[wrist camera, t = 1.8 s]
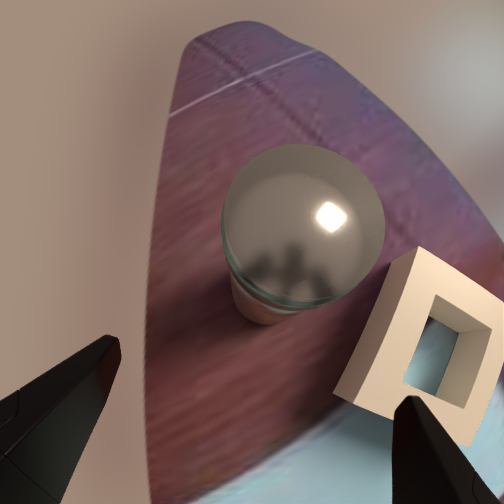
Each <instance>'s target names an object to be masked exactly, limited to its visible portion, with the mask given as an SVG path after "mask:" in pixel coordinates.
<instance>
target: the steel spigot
mask: <svg viewBox="0 0 504 504" xmlns="http://www.w3.org/2000/svg"><path fill="white" fill-rule="evenodd" d="M221 232H222V240H223V247H224V253H225V257H226V261H227V264H228V266H229V270H230V278H231V286H232V294H233V299H234V302H235V305H236V307H237V309H238V310H239V312H240V313H241V314H242V315H243V316H244V317H245V318H247V319H248V320H250V321H252V322H254V323H257V324H261V325H273V324H277V323H280V322H282V321H284V320H286V319H289V318H291V317H293V316H295V315H297V314H299V313H301V312H303V311H306V310H310V309H314V308H318V307H320V306H323V305H325V304H327V303H330V302H332V301H334V300H336V299H338V298H340V297H342V296H344V295H345V294H347V293H349V292H350V291H351V290H353V289H354V288H355V287H356V286H357V285H358V284H359V283H360V282H361V281H362V280H363V279H364V277H365V276H366V275H367V274H368V273H369V272H370V271H371V269H372V268H373V266H374V265H375V263H376V262H377V260H378V257H379V255H380V253H381V250H382V247H383V243H384V237H385V218H384V212H383V208H382V204H381V202H380V199H379V196H378V194H377V192H376V190H375V188H374V187H373V185H372V184H371V182H370V181H369V179H368V178H367V177H366V176H365V175H364V173H363V172H362V171H361V170H360V169H359V168H358V167H356V166H355V165H354V164H353V163H352V162H350V161H349V160H348V159H346V158H344V157H343V156H341V155H339V154H337V153H335V152H333V151H331V150H328V149H325V148H322V147H318V146H313V145H306V144H290V145H283V146H278V147H275V148H271V149H269V150H266V151H264V152H262V153H260V154H258V155H257V156H255V157H254V158H252V159H251V160H250V161H248V162H247V163H246V164H245V165H244V166H243V167H242V168H241V169H240V170H239V172H238V173H237V174H236V176H235V177H234V179H233V181H232V182H231V184H230V186H229V189H228V192H227V194H226V199H225V203H224V206H223V210H222V217H221Z"/></svg>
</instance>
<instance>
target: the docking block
mask: <svg viewBox="0 0 504 504" xmlns="http://www.w3.org/2000/svg"><path fill="white" fill-rule="evenodd" d="M428 316H430V317H432V318H433V319H435V320H437V321H439V322H440V323H442V324H444V325H445V326H447V327H449V328H451V329H452V330H454V331H456V332H458V333H459V335H458V338H457V341H456V344H455V347H454V350H453V352H452V355H451V358H450V360H449V363H448V366H447V368H446V371H445V373H444V376H443V378H442V381H441V383H440V385H439V388H438V390H437V392H436V395H435V397H434V396H432V395H430V394H428V393H426V392H423V391H421V390H419V389H417V388H414V387H412V386H410V385H408V384H406V383H404V382H402V379H403V377H404V375H405V373H406V370H407V368H408V366H409V364H410V361H411V359H412V356H413V354H414V352H415V349H416V347H417V344H418V342H419V339H420V337H421V334H422V331H423V329H424V326H425V323H426V321H427V318H428ZM503 362H504V303H503V302H502V301H501V300H499V299H498V298H497V297H495V296H494V295H492V294H491V293H489V292H488V291H487V290H485V289H484V288H482V287H481V286H479V285H478V284H477V283H475V282H474V281H472V280H471V279H469V278H468V277H466V276H465V275H463V274H462V273H460V272H459V271H457V270H456V269H454V268H453V267H451V266H450V265H448V264H447V263H445V262H444V261H442V260H440V259H439V258H437V257H436V256H434V255H433V254H431V253H429V252H428V251H426V250H425V249H423V248H421V247H420V246H418V247H416V248H414V249H413V250H411V251H409V252H408V253H406V254H404V255H403V256H401V257H399V258H397V259H396V260H394V261H392V262H391V265H390V268H389V270H388V273H387V275H386V278H385V281H384V283H383V286H382V288H381V291H380V293H379V295H378V298H377V300H376V303H375V305H374V307H373V310H372V312H371V314H370V317H369V319H368V321H367V323H366V326H365V328H364V330H363V332H362V335H361V337H360V339H359V341H358V343H357V345H356V347H355V350H354V352H353V354H352V356H351V358H350V360H349V362H348V364H347V366H346V368H345V370H344V372H343V374H342V376H341V378H340V380H339V382H338V384H337V386H336V388H335V389H334V391H333V394H335V395H337V396H339V397H341V398H343V399H345V400H347V401H349V402H351V403H353V404H355V405H357V406H360V407H362V408H364V409H367V410H369V411H372V412H374V413H376V414H379V415H381V416H384V417H386V418H389V419H391V420H393V419H394V412H395V410H396V408H397V407H398V406H399V404H400V403H401V402H402V401H403V400H404V398H405V397H406V396H408V395H416V396H419V397H420V398H421V399H422V400H423V401H424V403H425V404H426V405H427V406H428V408H429V409H430V410H431V412H432V413H433V414H434V416H435V417H436V418H437V419H438V421H439V422H440V423H441V425H442V426H443V427H444V429H445V430H446V431H447V433H448V434H449V435H450V437H451V438H452V439H453V441H454V442H455V443H457V444H460V445H463V446H467V447H470V445H471V443H472V441H473V439H474V437H475V434H476V432H477V430H478V428H479V426H480V423H481V421H482V419H483V416H484V414H485V412H486V409H487V407H488V404H489V402H490V399H491V396H492V394H493V391H494V388H495V386H496V383H497V380H498V377H499V374H500V371H501V368H502V365H503Z"/></svg>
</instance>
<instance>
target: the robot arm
mask: <svg viewBox="0 0 504 504" xmlns="http://www.w3.org/2000/svg"><path fill="white" fill-rule="evenodd" d="M120 362H121V350H120V342H119V339H118V338H117V337H113V336H111V335H104V336H102V337H101V338H99V339H97V340H96V341H94V342H93V343H91V344H90V345H88V346H86V347H85V348H83V349H82V350H80V351H78V352H77V353H75V354H74V355H72V356H70V357H69V358H67V359H66V360H64V361H62V362H61V363H59V364H58V365H56V366H55V367H53V368H51V369H50V370H49V371H47V372H45V373H44V374H42V375H40V376H39V377H37V378H36V379H34V380H33V381H31V382H30V383H28V384H26V385H25V386H23V387H22V388H20V390H17V391H15V392H14V393H12V394H10V395H9V396H7V397H5V398H4V399H2V400H1V401H0V504H60V503H61V500H62V498H63V495H64V493H65V491H66V488H67V486H68V484H69V482H70V479H71V477H72V475H73V472H74V470H75V468H76V466H77V463H78V461H79V459H80V457H81V455H82V452H83V450H84V448H85V446H86V444H87V442H88V439H89V437H90V435H91V433H92V431H93V429H94V427H95V425H96V423H97V420H98V418H99V416H100V414H101V412H102V410H103V408H104V406H105V404H106V401H107V398H108V396H109V393H110V390H111V387H112V384H113V382H114V379H115V376H116V373H117V370H118V368H119V365H120ZM392 504H502V503H501V502H500V501H499V500H498V499H497V498H496V496H495V495H494V494H493V493H492V492H491V490H490V489H489V488H488V487H487V485H486V484H485V483H484V481H483V480H482V479H481V477H480V476H479V475H478V473H477V472H476V471H475V469H474V468H473V466H472V465H471V464H470V462H469V461H468V460H467V458H466V457H465V455H464V454H463V453H462V451H461V450H460V449H459V447H458V446H457V445H456V443H455V442H454V441H453V439H452V438H451V437H450V435H449V434H448V433H447V431H446V430H445V429H444V427H443V426H442V425H441V423H440V422H439V421H438V419H437V418H436V417H435V416H434V414H433V413H432V412H431V410H430V409H429V408H428V406H427V405H426V404H425V403H424V401H423V400H422V399H421V398H420V397H419V396H416V395H408V396H406V397H405V398H404V400H403V401H402V402H401V403H400V404H399V406H398V407H397V408H396V410H395V412H394V419H393V440H392Z"/></svg>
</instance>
